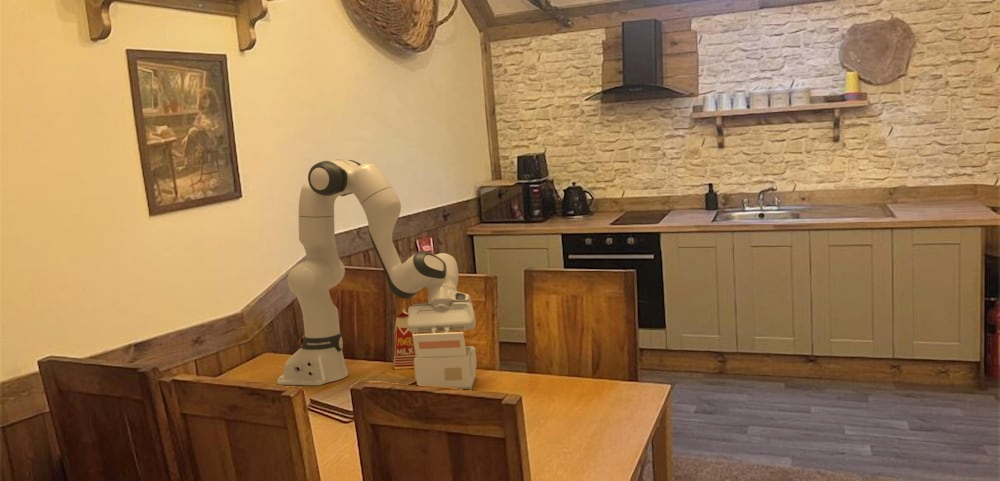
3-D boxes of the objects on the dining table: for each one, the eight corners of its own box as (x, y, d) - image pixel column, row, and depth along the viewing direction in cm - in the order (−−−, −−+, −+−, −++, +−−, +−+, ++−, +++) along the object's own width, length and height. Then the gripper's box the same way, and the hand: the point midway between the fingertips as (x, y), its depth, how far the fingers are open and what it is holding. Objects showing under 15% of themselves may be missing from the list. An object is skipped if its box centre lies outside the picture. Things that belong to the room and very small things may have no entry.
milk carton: (420, 368, 241) (415, 309, 238) (392, 370, 241) (387, 310, 239) (423, 361, 250) (419, 303, 248) (396, 362, 250) (392, 305, 248)
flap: (417, 356, 214) (416, 357, 213) (413, 334, 210) (412, 335, 210) (466, 354, 213) (466, 355, 212) (463, 331, 209) (462, 333, 208)
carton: (415, 392, 215) (413, 359, 214) (423, 379, 228) (421, 348, 227) (473, 390, 214) (470, 356, 212) (477, 377, 226) (475, 345, 225)
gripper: (406, 298, 218) (402, 338, 210) (474, 294, 217) (473, 334, 208) (410, 309, 223) (407, 349, 215) (477, 306, 222) (476, 345, 213)
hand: (440, 342), depth 211 cm, fingers closed, pressing on flap
